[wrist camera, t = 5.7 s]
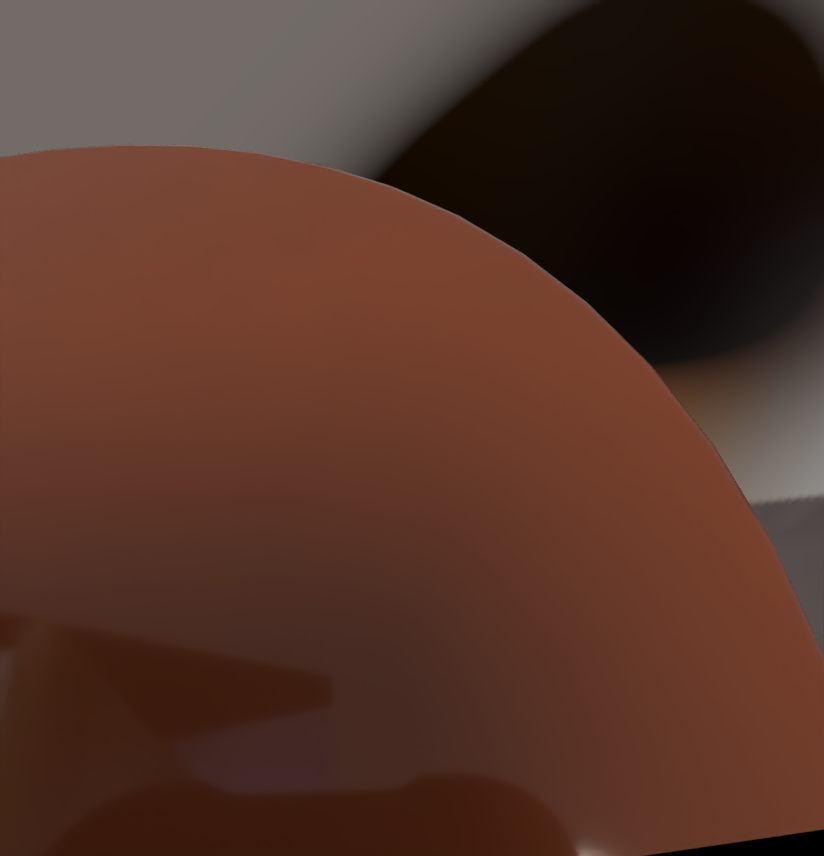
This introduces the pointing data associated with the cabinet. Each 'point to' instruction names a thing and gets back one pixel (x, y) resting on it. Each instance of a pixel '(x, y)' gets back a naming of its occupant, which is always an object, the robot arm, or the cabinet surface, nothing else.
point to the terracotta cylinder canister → (362, 541)
